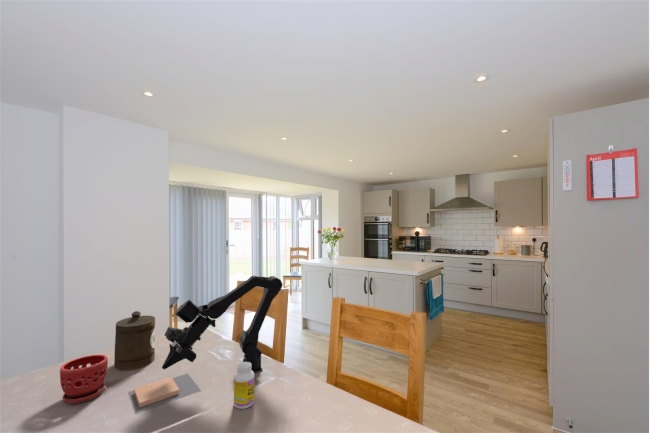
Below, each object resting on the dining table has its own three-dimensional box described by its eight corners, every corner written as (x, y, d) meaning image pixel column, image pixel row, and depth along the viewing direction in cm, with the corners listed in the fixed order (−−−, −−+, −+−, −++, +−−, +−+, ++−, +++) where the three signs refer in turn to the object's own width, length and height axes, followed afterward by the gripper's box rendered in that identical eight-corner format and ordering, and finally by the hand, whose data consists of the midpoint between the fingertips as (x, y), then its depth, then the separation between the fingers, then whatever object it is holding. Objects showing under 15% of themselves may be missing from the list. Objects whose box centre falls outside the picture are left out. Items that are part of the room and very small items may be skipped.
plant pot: (116, 389, 108) (116, 356, 109) (75, 410, 96) (76, 373, 96) (91, 382, 113) (92, 351, 113) (49, 402, 100) (50, 366, 100)
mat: (187, 374, 118) (187, 373, 118) (201, 392, 106) (201, 390, 106) (128, 393, 105) (128, 391, 105) (135, 415, 93) (135, 413, 93)
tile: (171, 377, 112) (134, 388, 104) (179, 389, 104) (139, 402, 96) (171, 381, 112) (134, 393, 104) (179, 394, 104) (139, 408, 96)
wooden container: (161, 360, 132) (162, 310, 132) (124, 374, 119) (125, 319, 120) (144, 352, 139) (144, 305, 140) (107, 364, 127) (108, 313, 127)
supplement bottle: (248, 411, 96) (248, 370, 96) (229, 408, 97) (230, 368, 97) (257, 399, 102) (257, 361, 102) (239, 396, 103) (240, 359, 104)
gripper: (173, 312, 117) (140, 348, 109) (187, 324, 102) (150, 367, 95) (193, 328, 122) (163, 363, 114) (210, 342, 107) (176, 383, 100)
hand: (162, 368), depth 106 cm, fingers closed
